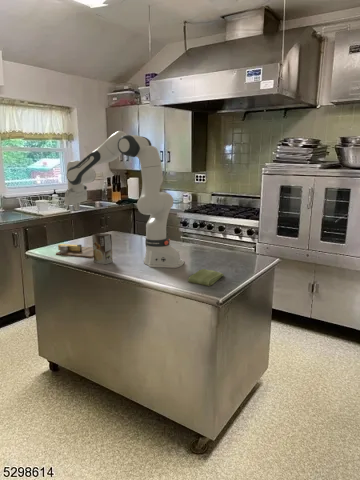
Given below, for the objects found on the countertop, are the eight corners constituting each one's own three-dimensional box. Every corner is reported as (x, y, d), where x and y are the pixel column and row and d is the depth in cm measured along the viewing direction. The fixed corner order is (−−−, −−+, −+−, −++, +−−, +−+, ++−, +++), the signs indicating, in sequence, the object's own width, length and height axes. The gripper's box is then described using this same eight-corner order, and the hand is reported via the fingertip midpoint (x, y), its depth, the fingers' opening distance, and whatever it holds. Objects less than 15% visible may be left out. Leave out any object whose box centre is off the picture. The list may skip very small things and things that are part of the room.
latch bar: (82, 250, 219) (82, 244, 218) (80, 252, 216) (80, 245, 215) (61, 249, 222) (60, 243, 221) (58, 250, 219) (58, 244, 218)
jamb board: (105, 250, 226) (105, 242, 224) (91, 258, 209) (91, 249, 208) (72, 247, 232) (71, 239, 231) (55, 254, 215) (55, 246, 214)
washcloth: (224, 276, 180) (225, 270, 180) (210, 288, 165) (210, 281, 165) (201, 272, 187) (201, 266, 186) (185, 283, 172) (185, 276, 171)
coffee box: (113, 261, 202) (112, 234, 198) (106, 264, 197) (104, 236, 193) (100, 259, 206) (99, 232, 202) (93, 262, 201) (91, 234, 197)
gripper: (70, 189, 207) (72, 213, 211) (88, 186, 226) (89, 208, 230) (61, 189, 209) (62, 212, 212) (79, 186, 228) (80, 207, 231)
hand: (76, 210), depth 221 cm, fingers closed
